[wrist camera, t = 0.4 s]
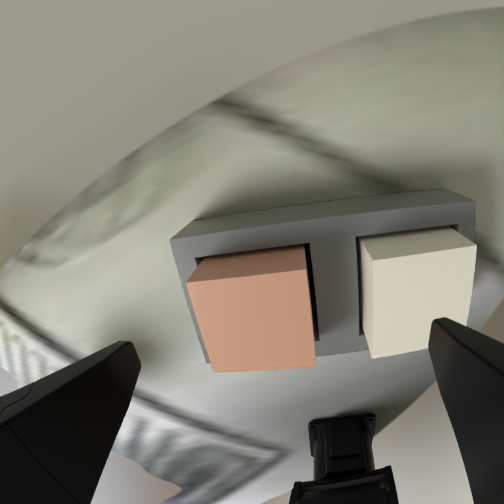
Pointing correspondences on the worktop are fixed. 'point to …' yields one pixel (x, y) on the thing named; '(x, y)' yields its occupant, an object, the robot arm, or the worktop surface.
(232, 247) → the keypad
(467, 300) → the cream key
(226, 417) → the worktop surface
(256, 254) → the terracotta key
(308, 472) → the worktop surface
